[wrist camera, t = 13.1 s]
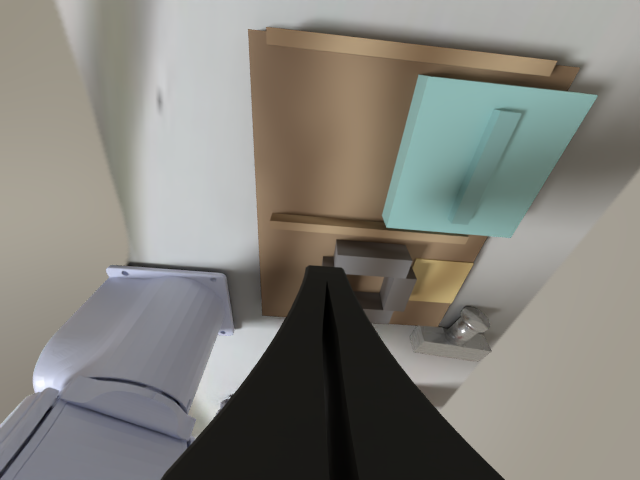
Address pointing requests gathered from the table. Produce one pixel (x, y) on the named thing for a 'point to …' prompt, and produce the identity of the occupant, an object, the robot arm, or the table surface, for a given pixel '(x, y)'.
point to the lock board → (356, 166)
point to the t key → (455, 337)
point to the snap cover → (478, 154)
